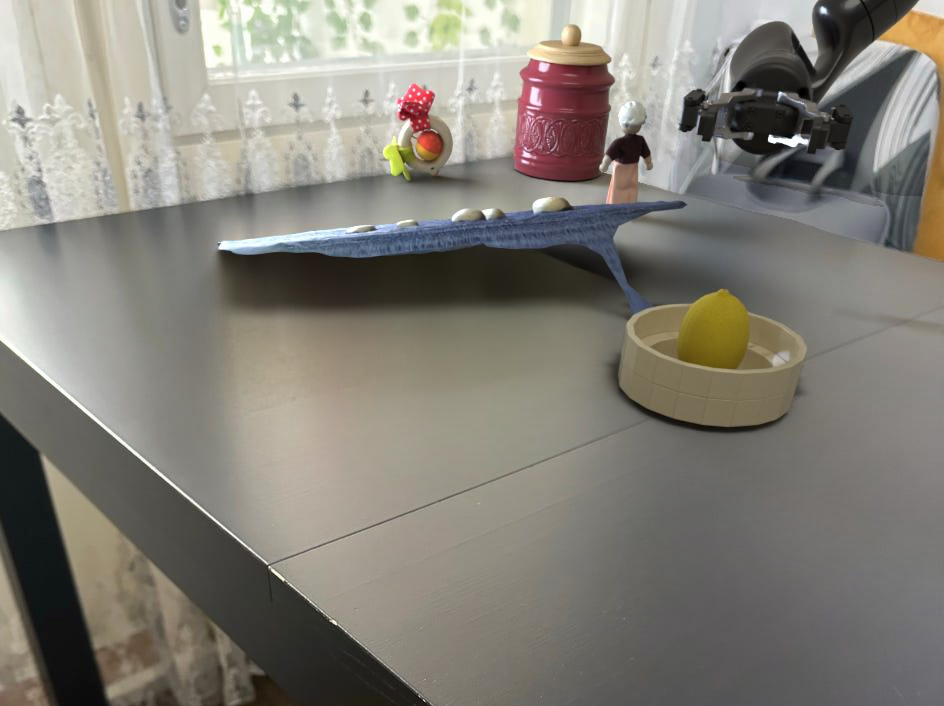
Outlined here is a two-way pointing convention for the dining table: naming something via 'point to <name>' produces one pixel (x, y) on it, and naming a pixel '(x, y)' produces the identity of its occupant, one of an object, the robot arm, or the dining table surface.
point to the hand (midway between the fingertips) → (760, 133)
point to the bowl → (709, 372)
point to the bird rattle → (419, 136)
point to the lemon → (714, 332)
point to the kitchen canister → (563, 109)
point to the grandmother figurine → (627, 155)
